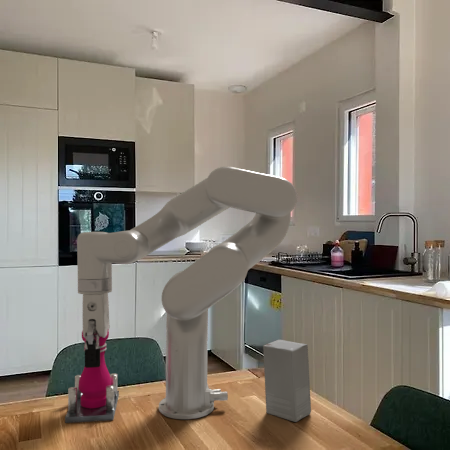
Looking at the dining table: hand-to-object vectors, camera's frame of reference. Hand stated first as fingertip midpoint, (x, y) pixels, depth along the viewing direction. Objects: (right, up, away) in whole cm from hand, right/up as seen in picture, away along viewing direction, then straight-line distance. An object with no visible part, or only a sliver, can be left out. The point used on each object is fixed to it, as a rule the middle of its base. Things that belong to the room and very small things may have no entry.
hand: (95, 360), depth 103 cm
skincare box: (+43, -12, -2) cm, 45 cm away
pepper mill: (0, -10, 0) cm, 10 cm away
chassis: (0, -11, 0) cm, 11 cm away
